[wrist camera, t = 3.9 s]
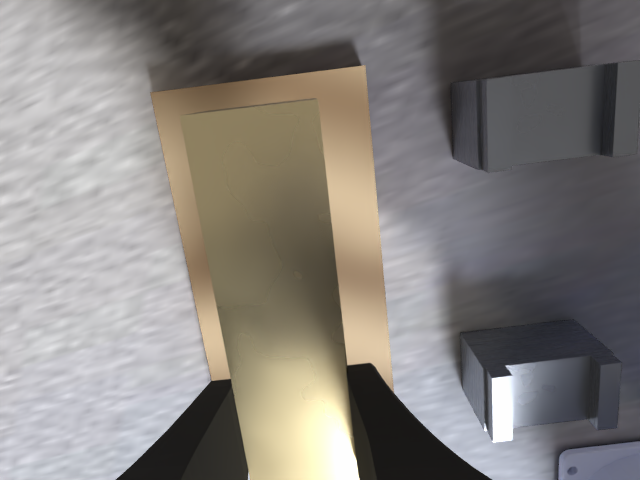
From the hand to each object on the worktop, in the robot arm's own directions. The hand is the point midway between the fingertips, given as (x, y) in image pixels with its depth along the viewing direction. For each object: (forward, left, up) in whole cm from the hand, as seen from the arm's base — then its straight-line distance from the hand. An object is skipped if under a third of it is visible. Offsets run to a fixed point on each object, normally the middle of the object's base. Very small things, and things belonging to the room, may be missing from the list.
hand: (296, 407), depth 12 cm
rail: (0, 0, -2) cm, 2 cm away
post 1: (+5, -9, -10) cm, 15 cm away
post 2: (-6, -9, -10) cm, 15 cm away
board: (0, +1, -10) cm, 10 cm away
